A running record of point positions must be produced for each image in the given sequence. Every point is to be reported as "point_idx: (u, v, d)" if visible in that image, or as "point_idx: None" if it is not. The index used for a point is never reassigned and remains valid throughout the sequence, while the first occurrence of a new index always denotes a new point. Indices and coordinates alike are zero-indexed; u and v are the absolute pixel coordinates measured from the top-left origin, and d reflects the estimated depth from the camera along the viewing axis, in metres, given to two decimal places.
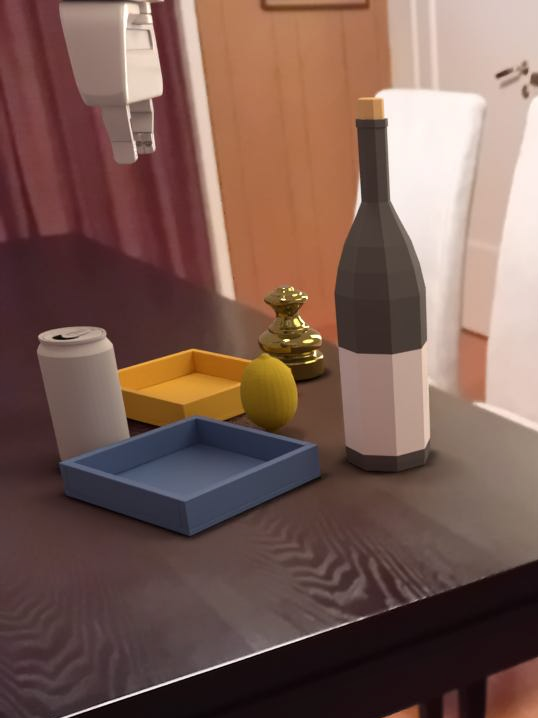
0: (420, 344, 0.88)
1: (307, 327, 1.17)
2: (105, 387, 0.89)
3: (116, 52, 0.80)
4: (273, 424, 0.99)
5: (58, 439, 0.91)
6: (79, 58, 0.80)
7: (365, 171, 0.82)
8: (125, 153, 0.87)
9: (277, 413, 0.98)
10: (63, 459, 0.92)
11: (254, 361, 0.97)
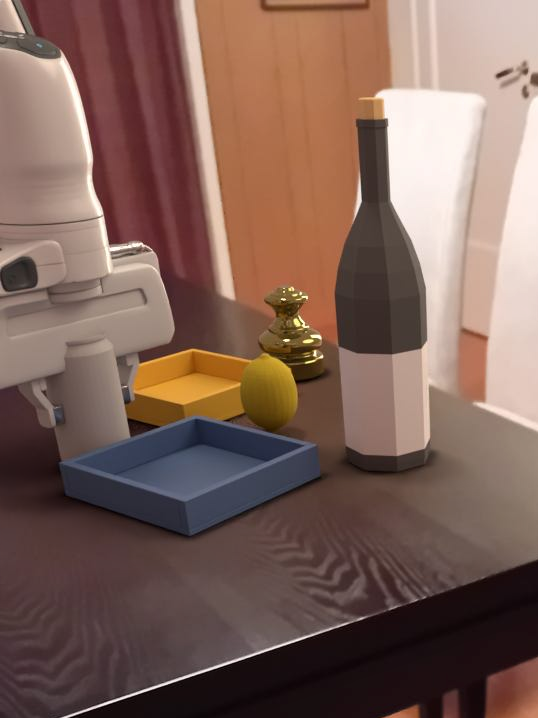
0: (420, 344, 0.88)
1: (307, 327, 1.17)
2: (105, 387, 0.89)
3: None
4: (273, 424, 0.99)
5: (58, 439, 0.91)
6: None
7: (365, 171, 0.82)
8: (44, 418, 0.88)
9: (277, 413, 0.98)
10: (63, 459, 0.92)
11: (254, 361, 0.97)
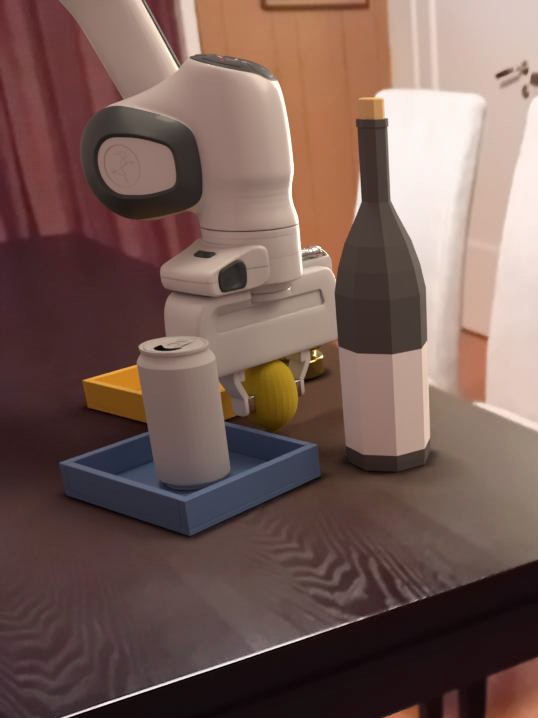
0: (420, 344, 0.88)
1: None
2: (208, 401, 0.84)
3: None
4: (273, 424, 0.99)
5: (156, 456, 0.86)
6: None
7: (365, 171, 0.82)
8: (239, 407, 0.96)
9: (277, 413, 0.98)
10: (160, 477, 0.87)
11: None
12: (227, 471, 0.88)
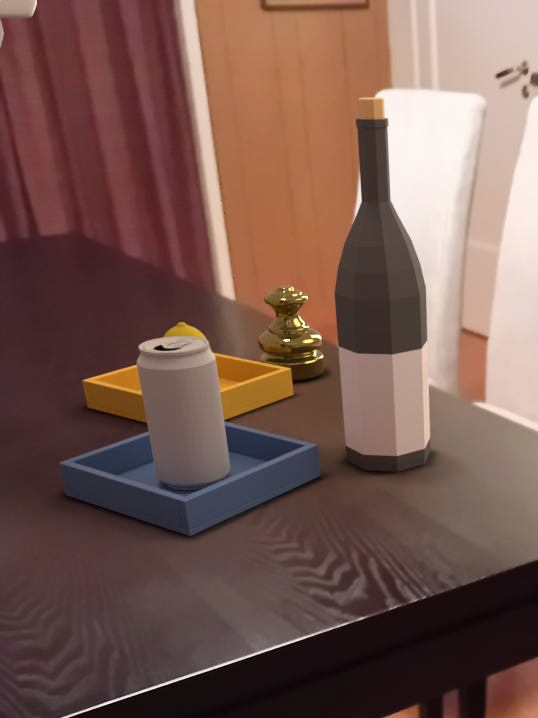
0: (420, 344, 0.88)
1: (307, 327, 1.17)
2: (208, 401, 0.84)
3: None
4: None
5: (156, 455, 0.86)
6: None
7: (365, 171, 0.82)
8: None
9: None
10: (160, 477, 0.87)
11: (171, 329, 1.06)
12: (227, 471, 0.88)
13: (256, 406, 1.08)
